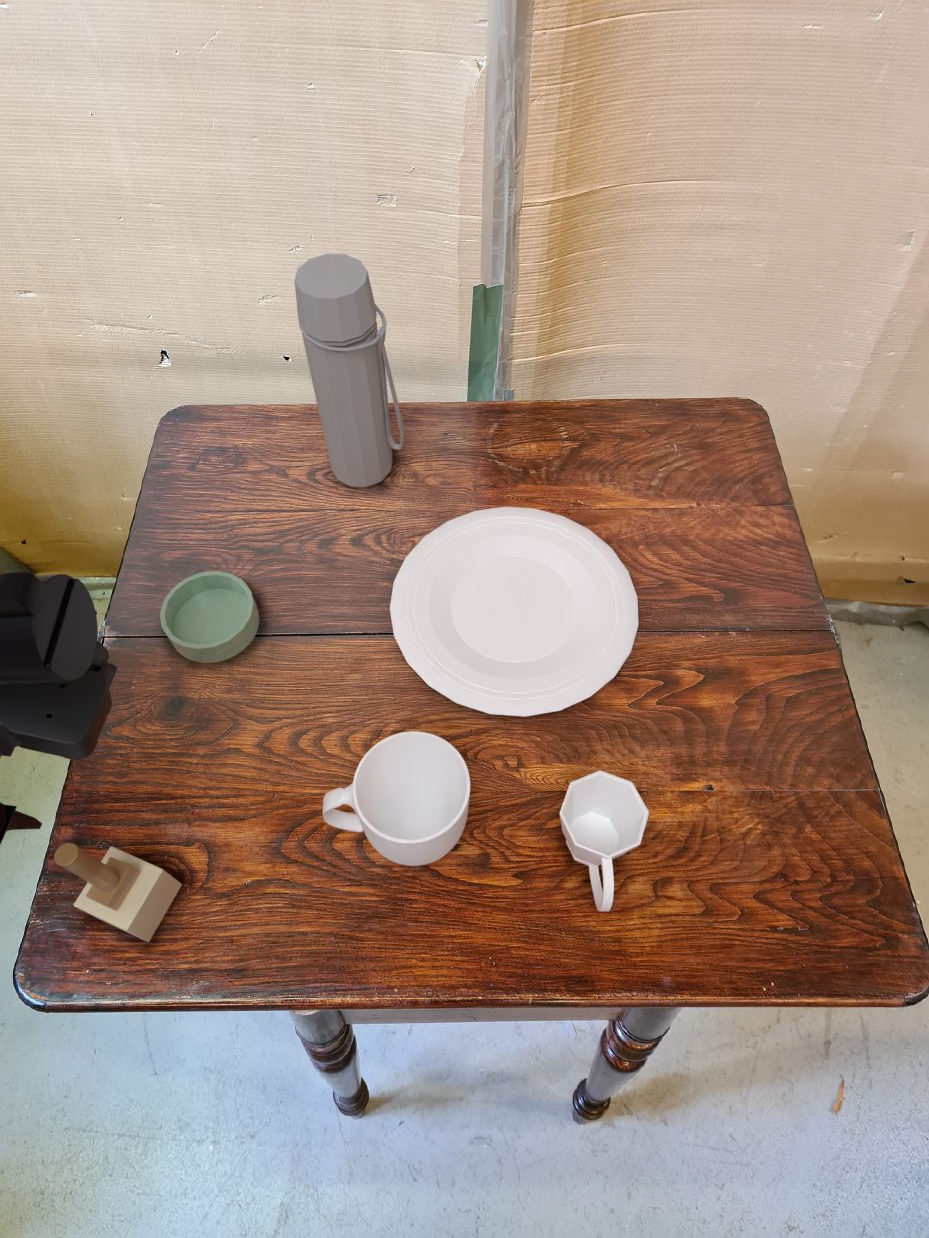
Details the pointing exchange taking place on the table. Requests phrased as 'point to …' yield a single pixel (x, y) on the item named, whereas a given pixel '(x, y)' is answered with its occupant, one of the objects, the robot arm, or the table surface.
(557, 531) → the plate
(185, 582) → the bowl
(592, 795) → the cup
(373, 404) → the water bottle
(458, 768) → the mug
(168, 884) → the stick stand
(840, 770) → the table surface
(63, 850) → the stirring stick
